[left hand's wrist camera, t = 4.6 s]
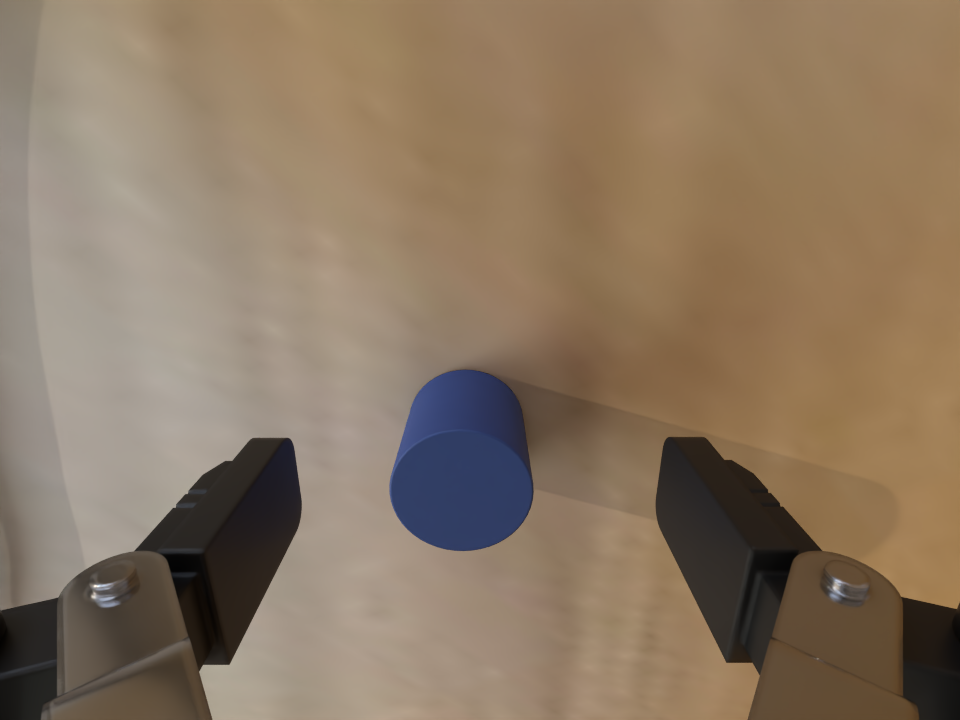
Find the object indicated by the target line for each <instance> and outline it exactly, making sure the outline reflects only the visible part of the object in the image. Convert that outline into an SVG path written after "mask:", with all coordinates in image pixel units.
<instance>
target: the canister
mask: <svg viewBox="0 0 960 720" xmlns="http://www.w3.org/2000/svg"><path fill="white" fill-rule="evenodd" d="M390 498H391V502H392V506H393V509H394V511H395V513H396V515H397V517H398V518H399V520H400V521H401V523H402V524H403V525H404V526H405V527H406V528H407V529H408V530H409V531H410V532H411V533H412V534H413V535H415V536H416V537H418V538H419V539H421V540H422V541H424V542H426V543H428V544H431V545H433V546H436V547H439V548H443V549H447V550H454V551H471V550H478V549H483V548H486V547H490V546H492V545H494V544H497V543H499V542H501V541H502V540H504V539H506V538H507V537H509V536H510V535H511V534H513V533H514V532H515V531H516V530H517V529H518V528H519V526H520V525H521V524H522V523H523V521H524V520H525V518H526V516H527V515H528V513H529V510H530V508H531V504H532V500H533V480H532V473H531V467H530V460H529V454H528V447H527V441H526V434H525V427H524V421H523V415H522V410H521V407H520V404H519V401H518V400H517V398H516V396H515V395H514V393H513V392H512V390H511V389H510V388H509V387H508V386H507V385H506V384H504V383H503V382H502V381H500V380H499V379H497V378H495V377H494V376H491V375H489V374H487V373H483V372H480V371H474V370H457V371H452V372H448V373H445V374H442V375H440V376H438V377H436V378H434V379H433V380H431V381H429V382H428V383H427V384H426V385H425V386H424V387H423V388H422V389H421V390H420V391H419V393H418V394H417V396H416V397H415V399H414V401H413V404H412V407H411V410H410V414H409V417H408V420H407V424H406V427H405V430H404V434H403V437H402V441H401V444H400V447H399V451H398V454H397V458H396V461H395V464H394V468H393V471H392V475H391V479H390Z"/></svg>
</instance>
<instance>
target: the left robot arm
mask: <svg viewBox="0 0 960 720" xmlns="http://www.w3.org/2000/svg"><path fill="white" fill-rule="evenodd" d="M301 510H302V501H301V493H300V486H299V479H298V472H297V465H296V458H295V451H294V446H293V443H292V441H291V439H289V438H252V439H251V440H250V441H249V442H248V443H247V444H246V445H245V446H244V448H243V449H242V450H241V451H240V452H239V454H238V455H237V456H236V457H235V458H234V460H233V461H225V462H223V463H221V464H220V465H218V466H216V467H215V468H213V469H212V470H210V471H208V472H207V473H205V474H203V475H202V476H201V478H200V479H199V480H198V481H197V482H196V483H195V484H194V485H193V486H192V488H191V489H190V490H189V491H188V494H185V495H184V496H183V498H182V499H181V500H180V501H179V502H178V503H177V504H176V508H173V509H172V510H171V511H170V512H169V513H168V514H167V515H166V516H165V518H164V519H163V520H162V521H161V522H160V523H159V524H158V525H157V526H156V528H155V529H154V530H153V531H152V532H151V533H150V534H149V535H148V537H147V538H146V539H145V540H144V541H143V542H142V543H141V544H140V545H139V547H138V548H137V549H136V550H135V551H134V552H128V553H123V554H119V555H116V556H113V557H110V558H108V559H105V560H103V561H101V562H99V563H96V564H94V565H93V566H91V567H89V568H87V569H86V570H84V571H83V572H81V573H80V574H79V575H77V576H76V577H75V578H74V579H73V580H71V581H70V582H69V583H68V584H67V586H66V587H65V588H64V589H63V591H62V592H61V594H60V596H59V598H55V599H51V600H46V601H42V602H37V603H33V604H28V605H24V606H19V607H15V608H10V609H6V610H0V720H212V716H211V713H210V709H209V706H208V702H207V699H206V695H205V691H204V688H203V684H202V681H201V677H200V674H199V671H200V669H201V667H202V665H230V663H231V661H232V659H233V657H234V655H235V653H236V651H237V649H238V647H239V645H240V643H241V641H242V639H243V637H244V635H245V633H246V631H247V629H248V627H249V625H250V623H251V621H252V619H253V617H254V615H255V613H256V611H257V609H258V607H259V605H260V603H261V601H262V599H263V597H264V595H265V593H266V591H267V589H268V587H269V585H270V583H271V581H272V579H273V577H274V575H275V573H276V571H277V569H278V567H279V565H280V563H281V561H282V559H283V557H284V555H285V553H286V551H287V549H288V547H289V545H290V543H291V541H292V539H293V537H294V535H295V533H296V531H297V529H298V526H299V523H300V518H301ZM656 515H657V521H658V524H659V527H660V530H661V532H662V534H663V536H664V538H665V540H666V542H667V544H668V546H669V548H670V550H671V552H672V554H673V556H674V558H675V560H676V562H677V564H678V566H679V568H680V570H681V572H682V574H683V576H684V578H685V580H686V582H687V584H688V586H689V588H690V590H691V592H692V594H693V596H694V598H695V600H696V602H697V604H698V606H699V608H700V610H701V612H702V614H703V616H704V618H705V620H706V622H707V624H708V626H709V628H710V630H711V632H712V634H713V636H714V638H715V640H716V642H717V644H718V646H719V648H720V650H721V653H722V655H723V657H724V659H725V661H726V663H753V664H754V666H755V668H756V669H757V671H758V673H759V675H760V677H759V681H758V684H757V688H756V691H755V695H754V699H753V702H752V706H751V709H750V713H749V716H748V720H960V603H959V606H958V608H957V609H953V608H949V607H944V606H940V605H935V604H931V603H926V602H922V601H917V600H913V599H908V598H904V597H901V596H900V594H899V592H898V591H897V589H896V588H895V587H894V586H893V585H892V583H891V582H890V581H889V580H887V579H886V578H885V577H884V576H883V575H881V574H880V573H879V572H877V571H876V570H874V569H873V568H871V567H869V566H867V565H866V564H864V563H861V562H859V561H857V560H855V559H852V558H850V557H847V556H844V555H841V554H837V553H832V552H826V551H822V550H821V549H820V548H819V547H818V545H817V544H816V543H815V542H814V541H813V540H812V539H811V538H810V537H809V535H808V534H807V533H806V532H805V531H804V530H803V529H802V528H801V526H800V525H799V524H798V523H797V522H796V521H795V520H794V519H793V517H792V516H791V515H790V514H789V513H788V512H787V511H786V510H785V508H784V507H780V503H779V502H778V501H777V499H776V498H775V497H774V496H773V495H772V494H771V493H768V489H767V488H766V487H765V486H764V485H763V484H762V483H761V481H760V480H759V479H758V478H757V477H756V476H755V475H754V474H753V473H752V472H750V471H748V470H747V469H745V468H744V467H742V466H740V465H739V464H737V463H735V462H734V461H732V460H724V459H723V458H722V457H721V455H720V454H719V453H718V452H717V451H716V449H715V448H714V447H713V446H712V445H711V443H710V442H709V441H708V440H707V439H706V438H704V437H668V438H667V439H666V440H665V442H664V446H663V451H662V458H661V466H660V473H659V480H658V487H657V494H656Z"/></svg>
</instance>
